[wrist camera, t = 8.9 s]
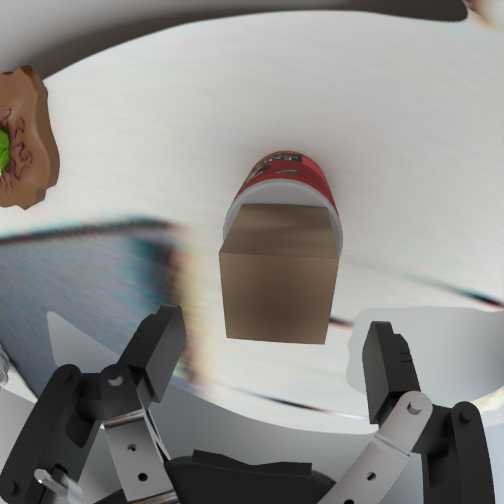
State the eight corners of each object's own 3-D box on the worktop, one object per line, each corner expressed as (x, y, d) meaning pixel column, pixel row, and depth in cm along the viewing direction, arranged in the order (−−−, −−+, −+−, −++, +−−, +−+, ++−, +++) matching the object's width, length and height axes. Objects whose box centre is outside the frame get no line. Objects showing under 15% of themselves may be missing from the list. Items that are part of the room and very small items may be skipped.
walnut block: (326, 207, 17) (339, 259, 12) (319, 278, 20) (324, 344, 15) (242, 203, 18) (218, 252, 13) (244, 274, 20) (226, 337, 15)
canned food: (294, 133, 26) (293, 155, 16) (344, 200, 28) (366, 258, 18) (230, 181, 29) (196, 228, 19) (281, 241, 31) (272, 311, 22)
